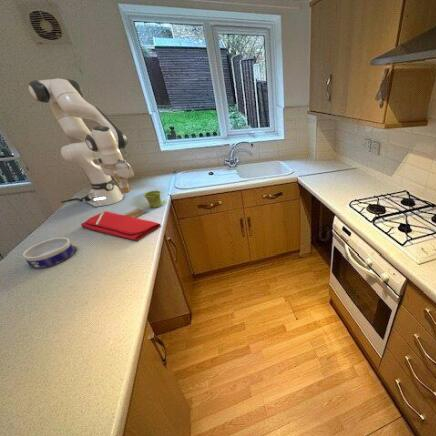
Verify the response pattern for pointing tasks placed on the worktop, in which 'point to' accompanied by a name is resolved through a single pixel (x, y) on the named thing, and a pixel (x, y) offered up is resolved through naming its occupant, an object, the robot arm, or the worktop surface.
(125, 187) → the sprinkles bottle
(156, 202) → the plant pot
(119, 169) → the robot arm
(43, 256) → the dog bowl
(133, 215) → the coaster
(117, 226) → the dish drying mat
